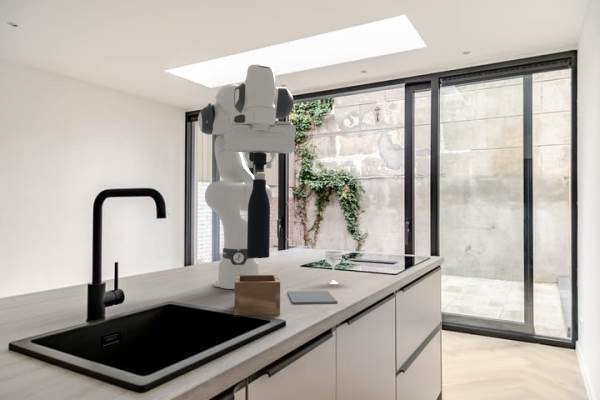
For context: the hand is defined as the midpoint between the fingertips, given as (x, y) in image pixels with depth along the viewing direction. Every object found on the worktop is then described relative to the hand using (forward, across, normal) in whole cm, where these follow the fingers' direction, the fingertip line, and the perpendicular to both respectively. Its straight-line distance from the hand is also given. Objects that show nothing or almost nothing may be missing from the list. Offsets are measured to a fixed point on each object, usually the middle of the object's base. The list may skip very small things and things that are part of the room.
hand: (259, 168), depth 120 cm
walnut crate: (+41, 0, 0) cm, 41 cm away
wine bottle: (+26, 0, 0) cm, 26 cm away
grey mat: (+41, -18, -14) cm, 47 cm away
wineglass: (+41, -31, -40) cm, 65 cm away
